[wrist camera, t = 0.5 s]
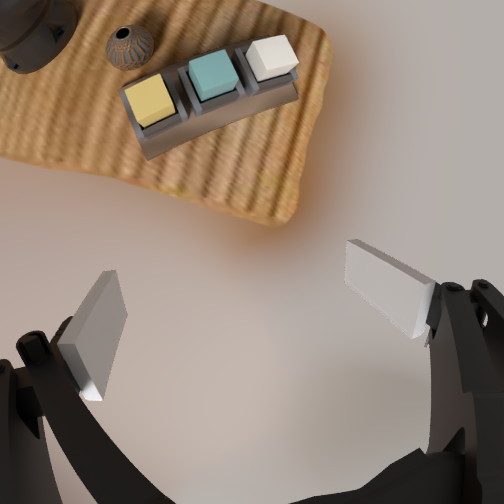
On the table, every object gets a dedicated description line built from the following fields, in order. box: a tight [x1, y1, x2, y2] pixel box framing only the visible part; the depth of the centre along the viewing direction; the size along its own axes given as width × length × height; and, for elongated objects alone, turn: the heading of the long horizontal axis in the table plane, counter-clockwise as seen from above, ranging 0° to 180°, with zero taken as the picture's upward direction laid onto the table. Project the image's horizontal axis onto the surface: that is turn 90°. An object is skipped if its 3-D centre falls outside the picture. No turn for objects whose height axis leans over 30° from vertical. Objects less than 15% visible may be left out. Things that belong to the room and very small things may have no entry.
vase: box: [106, 25, 154, 71], centre depth 27 cm, size 7×7×9 cm
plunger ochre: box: [124, 73, 175, 128], centre depth 28 cm, size 4×4×5 cm
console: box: [118, 35, 299, 160], centre depth 33 cm, size 12×24×6 cm, turn 113°
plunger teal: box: [189, 49, 239, 102], centre depth 29 cm, size 4×4×5 cm
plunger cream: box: [245, 35, 299, 82], centre depth 29 cm, size 4×4×5 cm
